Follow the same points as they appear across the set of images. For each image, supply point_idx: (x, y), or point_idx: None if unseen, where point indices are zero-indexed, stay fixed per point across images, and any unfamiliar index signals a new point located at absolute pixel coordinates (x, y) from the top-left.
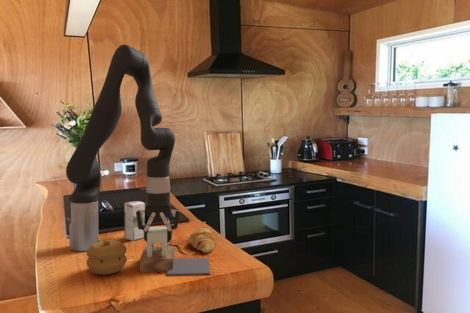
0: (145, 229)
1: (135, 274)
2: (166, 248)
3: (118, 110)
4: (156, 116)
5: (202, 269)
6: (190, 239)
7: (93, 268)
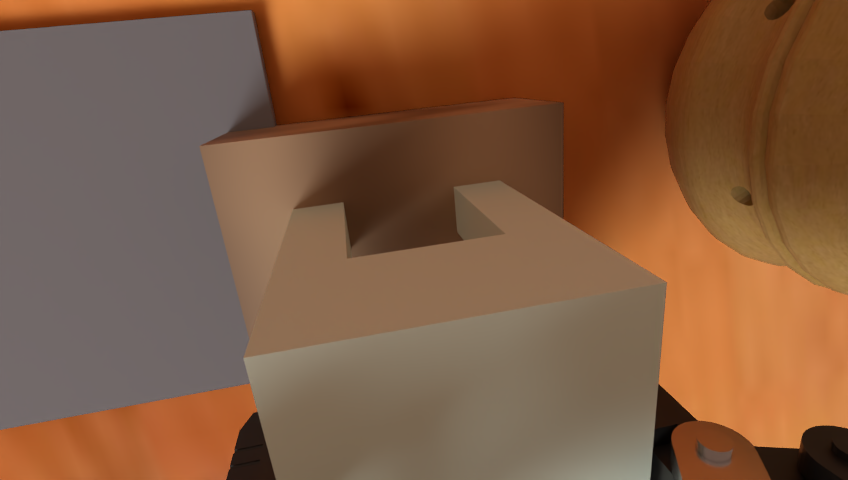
0: (725, 441)
1: (539, 42)
2: (284, 237)
3: None
4: None
5: None
6: None
7: None
